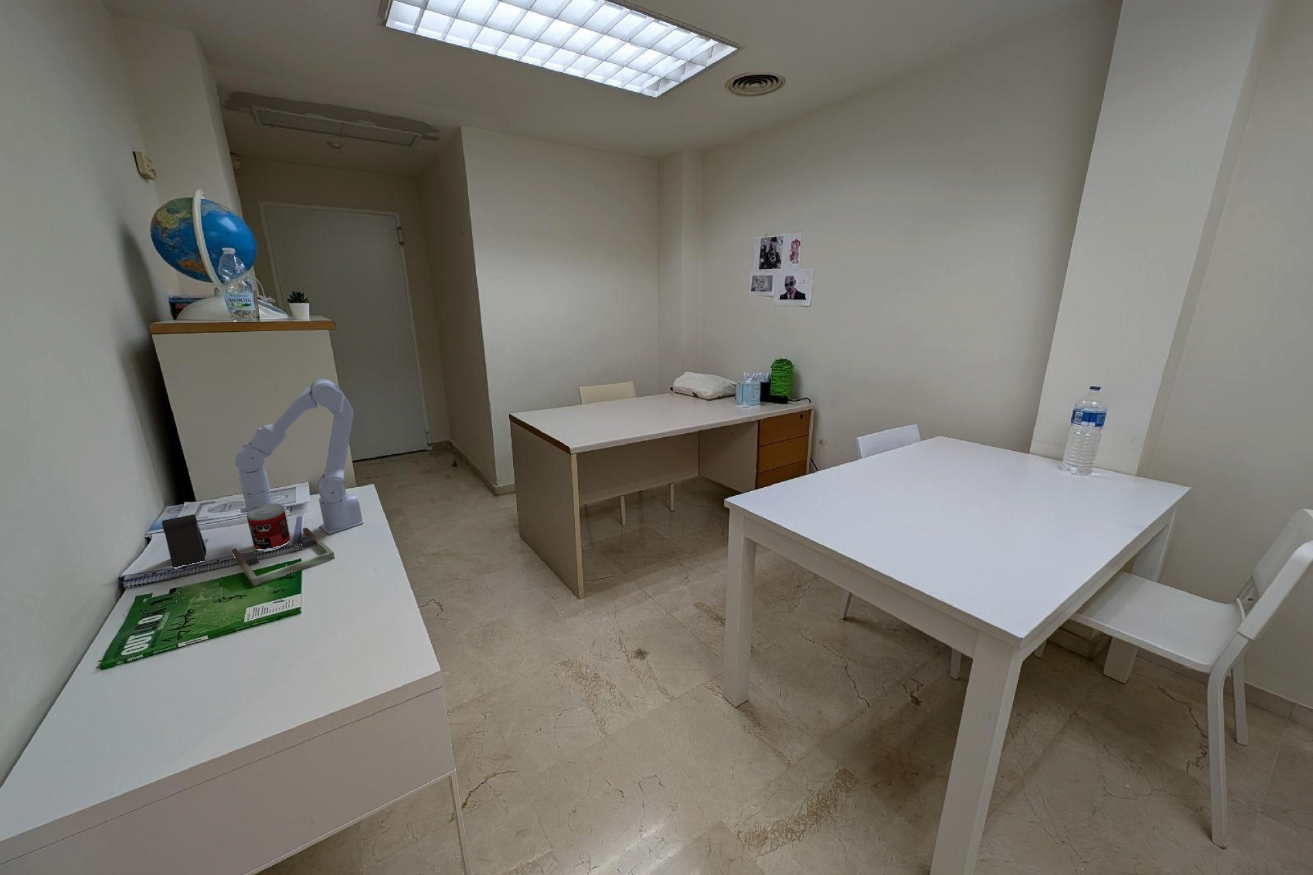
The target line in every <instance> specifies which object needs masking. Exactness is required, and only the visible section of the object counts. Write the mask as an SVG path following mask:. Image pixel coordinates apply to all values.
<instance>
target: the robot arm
mask: <svg viewBox="0 0 1313 875" xmlns="http://www.w3.org/2000/svg"><path fill="white" fill-rule="evenodd" d="M318 405H320V406H321V407H324V408H325V409H327V410H328V411H329V413H331V414H332V415H333V420H332V424H331V431H330V436H329V437H330V438H329V441H328V442H329V443H328V447H327V448H328V449H327V454H326V455H327V456H326V461H325V466H324V469H323V473H322V475H321V477H320V478H319V479H318V481H317V487H318V491H319V492H318V494H319V499H318V502H319V507H320V513H321V516H322V517H321V518H322V521H323V523H322V524H319V528H321V529H322V530H323V531H324V532H325V533H327V534H329V535H330V534H335V533H337V532H340V531H343V530H346V529H350V528H353V527H356V526H359V525H363V524H364V523H365V522H364V521H363V517H362V512H361V506H360V505H361V504H360V501H359V499H358V497H357V495H356V494H355V493H350V494H348V492H346V487H345V485H344V480H345V467H346V460H347V455H348V450H349V443H350V437H351V430H352V425H353V419H354V413H355V412H354V409H353V408H352V406H351V404H350V402H349V400H348V399H347V398H346V396H345V394H344V393H343V391H342V389H341V388H340V387H339V386H338V385H337V384H335V382H333V381H332V380H329V379H327V378H320V379H317V380H314V382H313V383H312V384H311V385H310V386H308V387H306V388H305V389H304V390H303V391H302V392H300V394H298V395H297V397H296V398H295V399H294V400H293V401H292V402H291V403H290V404H289V405H288V407H287V408H286V409H285V410H284V411H283V412H282V414H281V415H280V416H279V417H278V418H277V419H276V420H275V422H273V423H272V424H265V425H264V426H263V427H258V428H257V429H256V430H255V433H256V434H255V435H254V436H253V437H252V438H251V439H250V440H249V441H248V442H245V443H243V445H242V448H241V449H239V450H238V451H237V453H236V455H235V459H234V463H235V466H236V467H237V469H238V474H239V480H240V485H241V487H240V488H241V491H242V496H243V500H244V504H245V505H244V506H245V507H242V508H240V512H241V513H247V512H248V511H249V510H250V509H252V508H254V507H262V506H265V505H266V504H270V503H274V502H273V498H272V493H271V488H270V483H269V478H268V474H267V472H266V469H265V459H266V458H268V457H270V456H271V455H272V454H273V452H275V450H276V449H277V448H278V447H279V446H280V445H281V444H282V443H283V442H284V441H285V440H286V439H287V436H286V431H287V430H288V429H289V428H290V427H291V426H292V425H293V424H294V423H295V422H296V421H297V420H298V419H299V418H300V417H301V416H302V415H303V414H304V413H305V412H306V411H308V410H312V409H317V408H318V407H319V406H318ZM269 513H271V510H270V512H268V513H267V512H265V513H264V514H262V513H261V515H266V514H269Z"/></svg>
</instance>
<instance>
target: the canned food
mask: <svg viewBox="0 0 1313 875" xmlns="http://www.w3.org/2000/svg"><path fill="white" fill-rule="evenodd" d="M285 509H286V508H285V507H284V505H283V504H281V503H275V502H273V503H270V504H266V505H265V506H262V507H254V508H252V509H250V510H249V511H248V512H246V518H247V520H246V521H247V524H248V527H249V532H250V536H251V540H252V544H253V547H254V548H255V550H256V549H267V548H273V547H276V546H281V545H283V544H285V543H287V542H288V541H291V535H290V530H289V525H288V519H287V514H286V510H285ZM270 510H271V513H269V514H266V515H261V513H262V514H264V513H265V512H267V513H268V512H270Z"/></svg>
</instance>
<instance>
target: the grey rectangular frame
mask: <svg viewBox="0 0 1313 875" xmlns="http://www.w3.org/2000/svg"><path fill="white" fill-rule="evenodd" d="M302 532H303V535H304V536H307V535H310V536H311V537H312V538H313V539H314V541H315V545H314V546H316V547H317V548H318V549H319V550H320V551H321V552H322V554H319V555H316V556H313V557H311V558H308V559H304V560H302V561H298V562H295V563H292V564H290V565H286V566H283V567H281V568H278V569H275V570H272V571H269V572H266V573H263V574H260V575H256V574H255V572H254V571H253V569H251V568H252V567H251V566H249V565H248V564H247V563H246V561H245V560H244V559H243V557H242V554H241V553H240V552H239V550H238V549H237V548H233V549H231V554H232V553H233V554H234V556H235V557H236V560H237V561H236V560H235V561H236V562H237V563H238V566H239V567H240V569H242V572H243V573H244V575H246V578H248V580H249V581H250V583H251V584H252V586H253V587H257V586H259V585H262V584H265V583H268V582H271V581H273V580H277V579H279V578H280V579H281V578H282V577H285V576H287V574H288V575H291V574H294V573H296V572H299V571H302V570H305V569H308V568H311V567H314V566H317V565H319V564H322V563H325V562H328V561H330V560H331V561H332V560H333V559H335V558H336V556H335V553H334V551H333V550H332V549H331V548H330V547H329V546H327V545H326V544H325V543H324V541H322V540H321V539H320V538H319V537H318V536H317V535H316V534H315V533H313V531H311V530H310V529H309V528H308V527H302ZM233 554H232V555H233ZM293 572H294V573H293ZM290 573H291V574H290Z"/></svg>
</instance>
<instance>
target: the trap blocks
mask: <svg viewBox="0 0 1313 875" xmlns="http://www.w3.org/2000/svg"><path fill="white" fill-rule="evenodd" d="M298 540H299V544H300V543H301V544H302V545H301V544H300V545H301V546H302V547H303V549H308V548H311V547H313V546H316V545H315V541H314V539H313V538H312V537H311V536H310V535H307V536H305V535H304V536H301V537H298ZM241 556H242V557H243V559H244V560H245V561H246V563H247V564H248V565H249V567H252V566H255V565H258V564H260V562H259V557H258V555H257V554H256V553H255V552H254V551H253V552H250V553H245V554H243V555H242V554H241Z"/></svg>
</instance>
